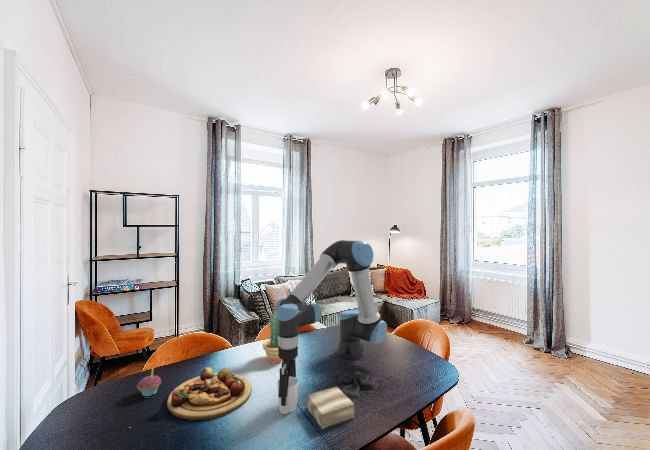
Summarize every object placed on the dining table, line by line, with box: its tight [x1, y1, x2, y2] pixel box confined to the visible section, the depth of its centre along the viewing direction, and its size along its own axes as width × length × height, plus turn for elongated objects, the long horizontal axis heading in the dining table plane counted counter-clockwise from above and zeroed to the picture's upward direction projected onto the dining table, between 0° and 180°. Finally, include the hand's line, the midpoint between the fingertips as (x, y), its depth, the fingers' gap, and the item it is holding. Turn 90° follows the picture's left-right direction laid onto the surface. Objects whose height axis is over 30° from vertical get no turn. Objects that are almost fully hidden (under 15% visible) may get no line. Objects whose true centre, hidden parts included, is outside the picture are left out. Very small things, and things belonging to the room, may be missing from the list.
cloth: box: [337, 371, 380, 399], centre depth 127 cm, size 22×19×6 cm
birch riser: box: [306, 386, 355, 430], centre depth 107 cm, size 13×13×5 cm
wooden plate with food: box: [166, 366, 253, 421], centre depth 118 cm, size 32×32×8 cm
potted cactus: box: [262, 310, 283, 364], centre depth 152 cm, size 15×15×25 cm
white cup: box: [277, 376, 299, 414], centre depth 110 cm, size 8×8×10 cm
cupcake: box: [136, 367, 162, 397], centre depth 119 cm, size 9×8×12 cm
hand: (287, 405), depth 110 cm, fingers open, 8 cm apart
